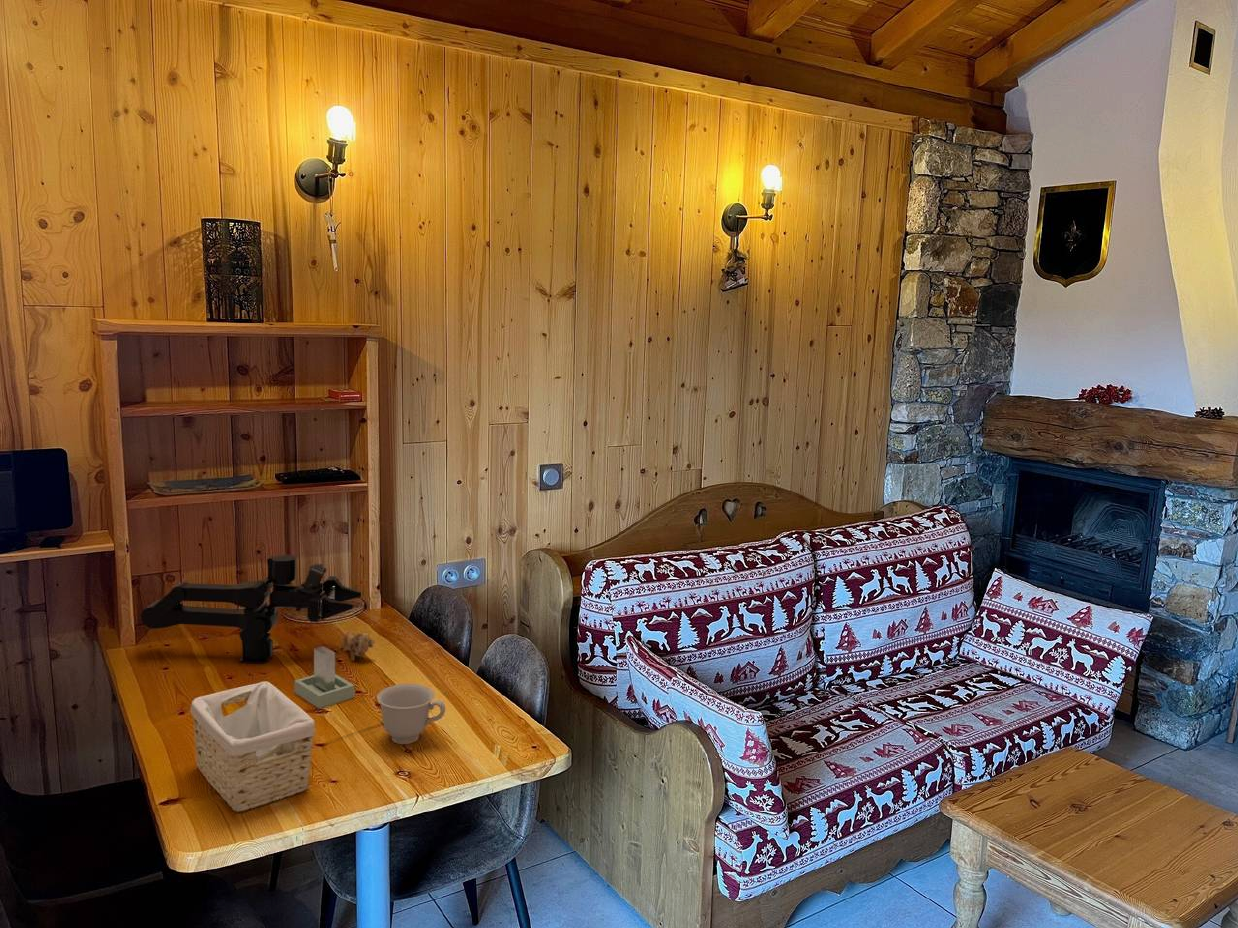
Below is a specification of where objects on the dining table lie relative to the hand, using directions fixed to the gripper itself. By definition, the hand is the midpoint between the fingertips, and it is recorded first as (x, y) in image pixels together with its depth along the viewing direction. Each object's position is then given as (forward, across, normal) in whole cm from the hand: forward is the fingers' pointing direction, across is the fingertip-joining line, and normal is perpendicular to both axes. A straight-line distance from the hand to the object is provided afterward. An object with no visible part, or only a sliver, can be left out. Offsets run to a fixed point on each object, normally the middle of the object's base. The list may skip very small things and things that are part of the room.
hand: (357, 600), depth 233 cm
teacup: (+21, -41, +16) cm, 49 cm away
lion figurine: (0, +1, +17) cm, 17 cm away
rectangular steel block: (-2, -24, +15) cm, 28 cm away
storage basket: (-7, -58, +17) cm, 61 cm away
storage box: (-2, -24, +16) cm, 29 cm away
